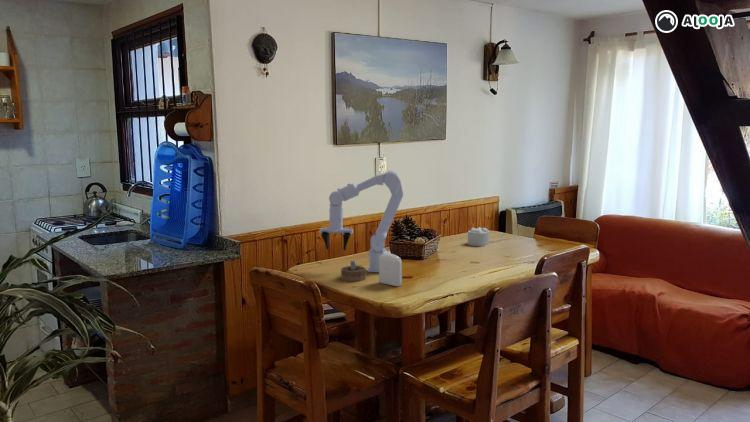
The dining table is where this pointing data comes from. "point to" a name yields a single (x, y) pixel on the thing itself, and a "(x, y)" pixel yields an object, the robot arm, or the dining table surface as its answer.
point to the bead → (353, 273)
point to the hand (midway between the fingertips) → (336, 249)
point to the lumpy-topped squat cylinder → (478, 237)
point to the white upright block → (390, 269)
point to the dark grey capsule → (353, 265)
